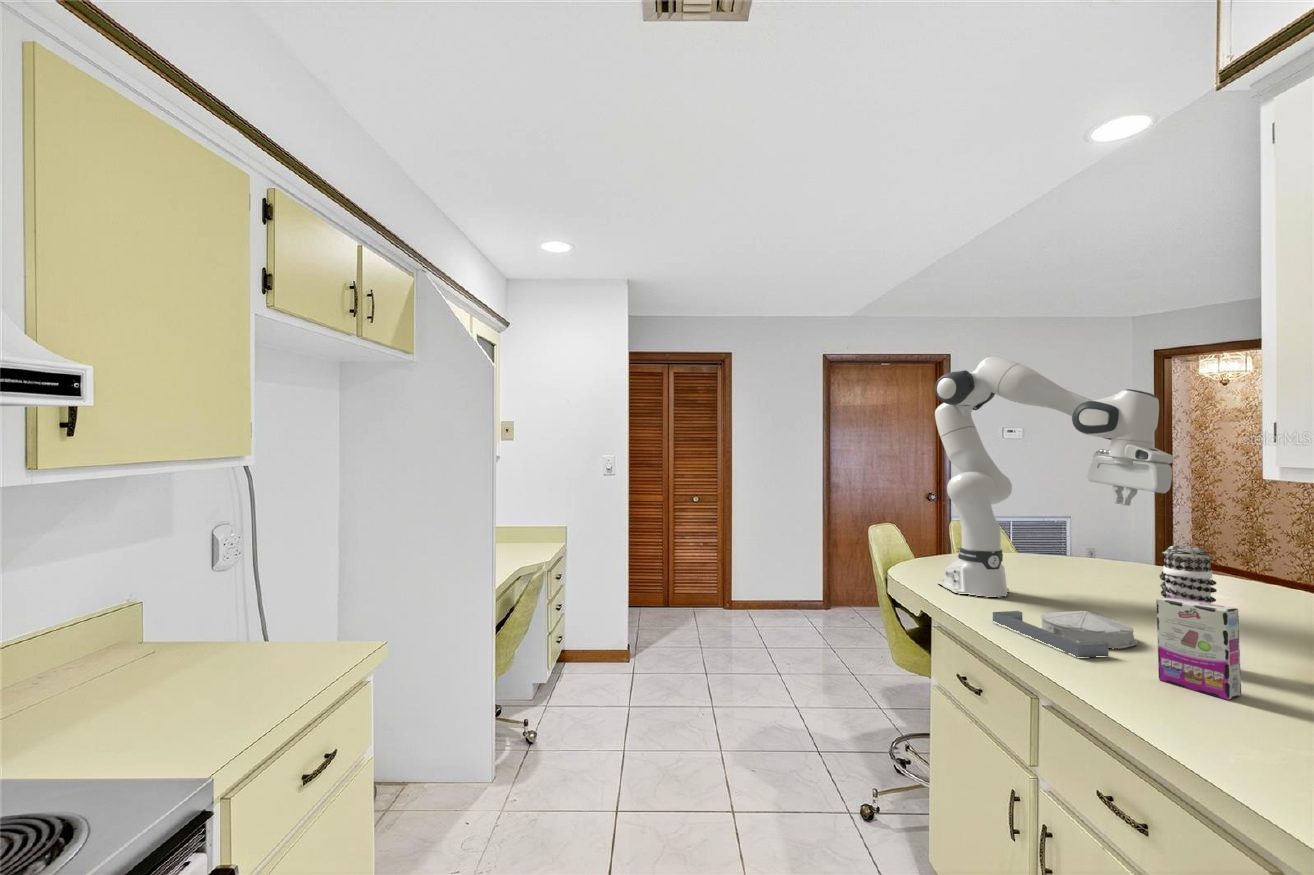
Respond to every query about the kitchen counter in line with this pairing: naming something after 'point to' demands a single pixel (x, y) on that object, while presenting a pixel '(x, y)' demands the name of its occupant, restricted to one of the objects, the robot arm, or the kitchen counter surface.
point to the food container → (1088, 628)
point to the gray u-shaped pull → (1050, 636)
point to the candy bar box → (1199, 646)
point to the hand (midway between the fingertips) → (1122, 504)
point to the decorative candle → (1187, 574)
